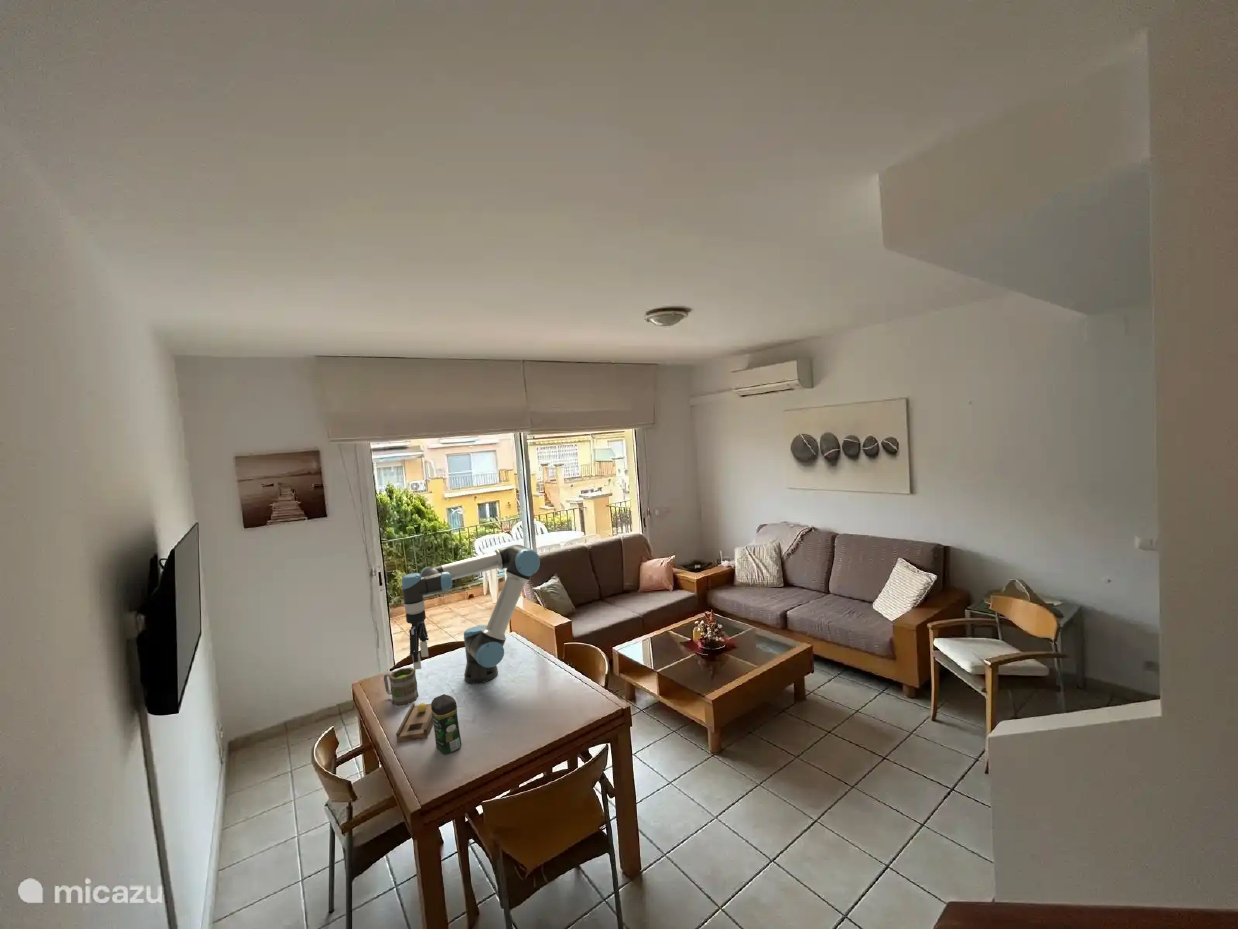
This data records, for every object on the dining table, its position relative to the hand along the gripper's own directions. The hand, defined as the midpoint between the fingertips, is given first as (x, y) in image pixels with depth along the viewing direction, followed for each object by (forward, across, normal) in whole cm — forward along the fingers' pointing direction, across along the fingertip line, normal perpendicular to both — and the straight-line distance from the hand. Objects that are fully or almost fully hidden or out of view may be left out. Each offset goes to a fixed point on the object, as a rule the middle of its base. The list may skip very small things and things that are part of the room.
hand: (421, 662), depth 218 cm
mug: (+20, -12, -14) cm, 27 cm away
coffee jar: (+20, +31, +15) cm, 40 cm away
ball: (+16, +7, 0) cm, 17 cm away
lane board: (+20, +12, 0) cm, 23 cm away
